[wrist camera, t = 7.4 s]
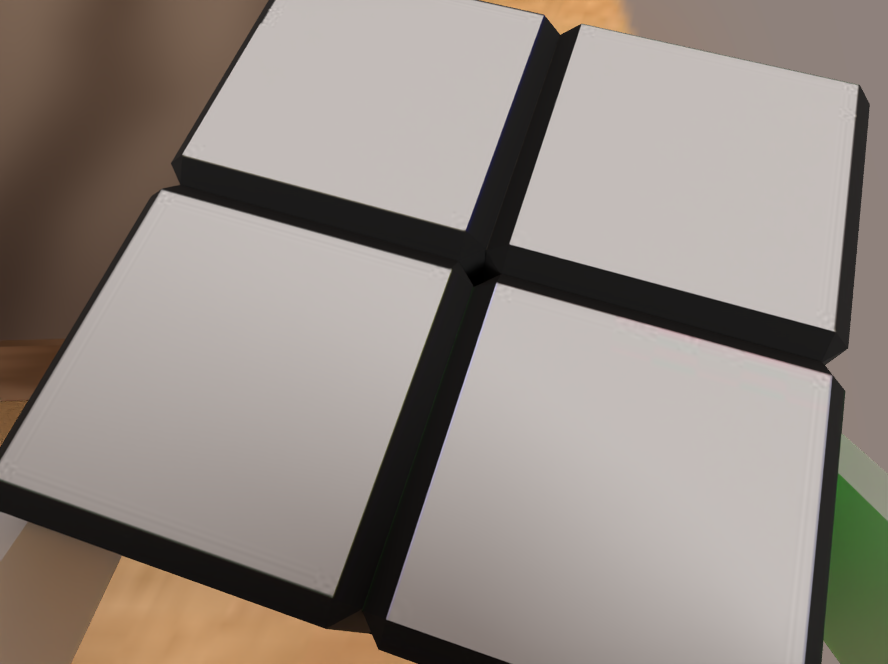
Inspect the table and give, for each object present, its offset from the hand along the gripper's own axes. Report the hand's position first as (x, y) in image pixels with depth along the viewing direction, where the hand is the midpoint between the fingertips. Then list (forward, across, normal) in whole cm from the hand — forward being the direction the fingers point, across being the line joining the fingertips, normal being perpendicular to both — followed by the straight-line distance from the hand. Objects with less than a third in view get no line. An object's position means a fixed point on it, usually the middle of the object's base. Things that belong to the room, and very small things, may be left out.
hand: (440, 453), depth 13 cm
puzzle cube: (+5, +1, -3) cm, 6 cm away
